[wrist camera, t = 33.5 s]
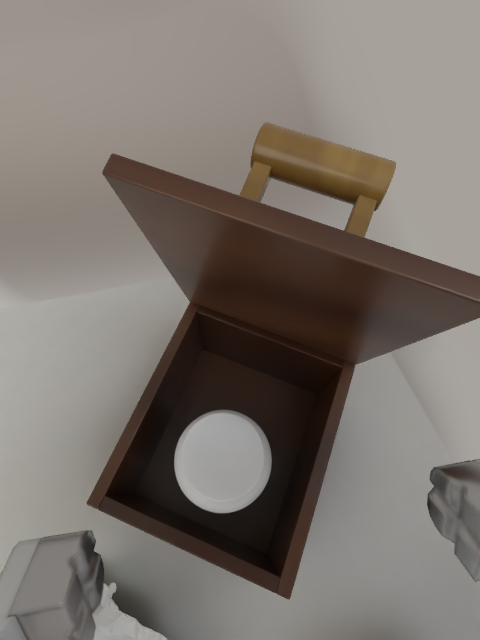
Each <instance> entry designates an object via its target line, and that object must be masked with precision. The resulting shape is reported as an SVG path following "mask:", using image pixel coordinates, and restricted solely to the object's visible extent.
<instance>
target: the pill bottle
mask: <svg viewBox="0 0 480 640" xmlns="http://www.w3.org/2000/svg"><path fill="white" fill-rule="evenodd" d="M271 464H272V457H271V450H270V446H269V443H268V440H267V438H266V436H265V434H264V432H263V431H262V429H261V428H260V427H259V426H258V425H257V424H256V423H255V422H254V421H253V420H252V419H250V418H249V417H247V416H246V415H244V414H241V413H239V412H236V411H232V410H216V411H211V412H208V413H206V414H203V415H201V416H200V417H198V418H197V419H195V420H194V421H193V422H191V423H190V424H189V425H188V427H187V428H186V429H185V430H184V432H183V433H182V435H181V437H180V439H179V441H178V443H177V446H176V450H175V457H174V469H175V474H176V478H177V481H178V484H179V486H180V488H181V490H182V491H183V493H184V494H185V495H186V497H187V498H188V499H189V500H190V501H191V502H193V503H194V504H195V505H197V506H199V507H200V508H202V509H204V510H207V511H210V512H214V513H230V512H235V511H238V510H240V509H243V508H244V507H246V506H248V505H249V504H251V503H252V502H253V501H254V500H255V499H257V497H258V496H259V495H260V494H261V493H262V491H263V489H264V488H265V486H266V484H267V482H268V479H269V476H270V472H271Z"/></svg>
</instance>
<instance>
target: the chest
mask: <svg viewBox="0 0 480 640" xmlns="http://www.w3.org/2000/svg"><path fill="white" fill-rule="evenodd" d="M355 365H356V364H354V363H351V362H348V361H346V360H343V359H340V358H338V357H335V356H332V355H330V354H327V353H325V352H322V351H319V350H317V349H314V348H311V347H309V346H306V345H304V344H301V343H298V342H296V341H293V340H290V339H288V338H285V337H282V336H280V335H277V334H275V333H272V332H269V331H267V330H264V329H261V328H259V327H256V326H254V325H251V324H248V323H246V322H243V321H240V320H238V319H235V318H232V317H230V316H227V315H225V314H222V313H219V312H217V311H214V310H211V309H209V308H206V307H204V306H201V305H198V304H196V303H193V302H190V304H189V306H188V307H187V309H186V311H185V313H184V315H183V317H182V319H181V321H180V323H179V325H178V327H177V329H176V331H175V333H174V335H173V337H172V338H171V340H170V342H169V344H168V346H167V348H166V350H165V352H164V354H163V356H162V358H161V360H160V362H159V364H158V366H157V368H156V369H155V371H154V373H153V375H152V377H151V379H150V381H149V383H148V385H147V387H146V389H145V391H144V393H143V395H142V397H141V399H140V401H139V402H138V404H137V406H136V408H135V410H134V412H133V414H132V416H131V418H130V420H129V422H128V424H127V426H126V428H125V430H124V432H123V433H122V435H121V437H120V439H119V441H118V443H117V445H116V447H115V449H114V451H113V453H112V455H111V457H110V459H109V461H108V463H107V464H106V466H105V468H104V470H103V472H102V474H101V476H100V478H99V480H98V482H97V484H96V486H95V488H94V490H93V492H92V494H91V495H90V497H89V499H88V501H87V505H89V506H91V507H93V508H96V509H98V510H100V511H102V512H104V513H106V514H108V515H110V516H112V517H114V518H117V519H119V520H121V521H123V522H125V523H127V524H129V525H131V526H134V527H136V528H138V529H140V530H142V531H144V532H146V533H148V534H151V535H153V536H155V537H157V538H159V539H161V540H163V541H165V542H168V543H170V544H172V545H174V546H176V547H178V548H180V549H182V550H185V551H187V552H189V553H191V554H193V555H195V556H197V557H199V558H202V559H204V560H206V561H208V562H210V563H212V564H214V565H216V566H219V567H221V568H223V569H225V570H227V571H229V572H231V573H233V574H236V575H238V576H240V577H242V578H244V579H246V580H248V581H250V582H253V583H255V584H257V585H259V586H261V587H263V588H265V589H267V590H270V591H272V592H274V593H276V594H278V595H280V596H282V597H284V598H286V599H290V597H291V593H292V590H293V586H294V582H295V579H296V575H297V572H298V568H299V565H300V561H301V557H302V554H303V550H304V547H305V543H306V540H307V536H308V533H309V529H310V525H311V522H312V518H313V515H314V511H315V508H316V504H317V500H318V497H319V493H320V490H321V486H322V483H323V479H324V475H325V472H326V468H327V465H328V461H329V458H330V454H331V450H332V447H333V443H334V440H335V436H336V433H337V429H338V425H339V422H340V418H341V415H342V411H343V408H344V404H345V401H346V397H347V393H348V390H349V386H350V383H351V379H352V376H353V372H354V368H355ZM216 410H232V411H236V412H239V413H241V414H244V415H246V416H247V417H249V418H250V419H252V420H253V421H254V422H255V423H256V424H257V425H258V426H259V427H260V428H261V429H262V431H263V432H264V434H265V436H266V438H267V440H268V443H269V446H270V450H271V457H272V464H271V472H270V476H269V479H268V482H267V484H266V486H265V488H264V489H263V491H262V493H261V494H260V495H259V496H258V497H257V499H255V500H254V501H253V502H252V503H251V504H249V505H248V506H246V507H244V508H243V509H240V510H238V511H235V512H230V513H214V512H210V511H207V510H204V509H202V508H200V507H199V506H197V505H195V504H194V503H193V502H191V501H190V500H189V499H188V498H187V497H186V495H185V494H184V493H183V491H182V490H181V488H180V486H179V484H178V481H177V478H176V474H175V469H174V457H175V450H176V446H177V443H178V441H179V439H180V437H181V435H182V433H183V432H184V430H185V429H186V428H187V427H188V425H189V424H190V423H191V422H193V421H194V420H195V419H197V418H198V417H200V416H201V415H203V414H206V413H208V412H211V411H216Z"/></svg>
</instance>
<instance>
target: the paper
mask: <svg viewBox="0 0 480 640" xmlns="http://www.w3.org/2000/svg"><path fill="white" fill-rule="evenodd" d="M114 592H116V584H115V583H112V582H111V584H110V586H107V585H106V584H105V583H104V589H103V595H102V600H101V604H100V605H99V606H98V608H97V609H96V610H95V612H94V613H93V614H92V616H93V619H94V622H95V624H96V629H95V634H94V639H93V640H168V639H167V638H166V637H164V636H163V635H162V634H160V633H158V632H154V631H153V630H151V629H149V628H147V627H144V626H142V625H141V624H140V623H139V622H138V621H137V619H136V618H134V617H131V616H129V615H127V614H125V613H122V612H121V611H119V609H118V606H117V605H116V604H115V603H114V601H113V600H112V599H111V597H112V594H113V593H114Z"/></svg>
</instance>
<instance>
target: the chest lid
mask: <svg viewBox="0 0 480 640" xmlns="http://www.w3.org/2000/svg"><path fill="white" fill-rule="evenodd" d="M395 168H396V162H394V161H392V160H388V159H385V158H382V157H378V156H375V155H372V154H368V153H365V152H362V151H359V150H356V149H352V148H349V147H346V146H343V145H339V144H336V143H333V142H330V141H326V140H323V139H320V138H317V137H313V136H310V135H307V134H303V133H300V132H297V131H294V130H290V129H287V128H284V127H280V126H277V125H274V124H271V123H268V122H267V123H264V124H263V125H262V127H261V128H260V130H259V132H258V135H257V137H256V140H255V143H254V147H253V151H252V156H251V170H250V173H249V175H248V177H247V179H246V182H245V184H244V186H243V189H242V191H241V193H240V195H239V196H238V195H235V194H232V193H229V192H226V191H223V190H221V189H217V188H215V187H212V186H208V185H206V184H202V183H199V182H196V181H193V180H191V179H188V178H184V177H182V176H179V175H176V174H173V173H170V172H167V171H164V170H161V169H158V168H155V167H152V166H149V165H146V164H143V163H140V162H137V161H134V160H131V159H128V158H125V157H122V156H119V155H116V154H111V156H110V158H109V160H108V162H107V164H106V165H105V167H104V169H103V175H104V176H105V178H106V179H107V181H108V182H109V184H110V185H111V187H112V188H113V189H114V191H115V193H116V194H117V196H118V197H119V199H120V200H121V201H122V203H123V204H124V206H125V207H126V209H127V210H128V212H129V213H130V215H131V216H132V217H133V219H134V220H135V222H136V223H137V225H138V226H139V228H140V229H141V231H142V232H143V234H144V235H145V237H146V238H147V240H148V241H149V243H150V244H151V245H152V247H153V248H154V250H155V251H156V253H157V254H158V256H159V257H160V259H161V260H162V262H163V263H164V265H165V266H166V267H167V269H168V270H169V272H170V273H171V275H172V276H173V278H174V279H175V281H176V282H177V284H178V285H179V287H180V288H181V290H182V291H183V292H184V294H185V295H186V297H187V298H188V300H189V301H190V302H193V303H196V304H198V305H201V306H204V307H206V308H209V309H211V310H214V311H217V312H219V313H222V314H225V315H227V316H230V317H232V318H235V319H238V320H240V321H243V322H246V323H248V324H251V325H254V326H256V327H259V328H261V329H264V330H267V331H269V332H272V333H275V334H277V335H280V336H282V337H285V338H288V339H290V340H293V341H296V342H298V343H301V344H304V345H306V346H309V347H311V348H314V349H317V350H319V351H322V352H325V353H327V354H330V355H332V356H335V357H338V358H340V359H343V360H346V361H348V362H351V363H354V364H359V363H362V362H365V361H367V360H370V359H373V358H375V357H378V356H380V355H383V354H386V353H388V352H391V351H393V350H396V349H399V348H401V347H404V346H407V345H409V344H412V343H415V342H417V341H420V340H423V339H425V338H428V337H430V336H433V335H436V334H438V333H441V332H443V331H446V330H449V329H451V328H454V327H457V326H459V325H462V324H465V323H467V322H470V321H473V320H475V319H478V318H480V276H477V275H474V274H471V273H467V272H465V271H462V270H459V269H456V268H452V267H450V266H447V265H444V264H441V263H438V262H435V261H432V260H429V259H426V258H423V257H420V256H417V255H414V254H411V253H408V252H405V251H402V250H399V249H396V248H393V247H390V246H387V245H384V244H381V243H378V242H375V241H372V240H369V239H366V238H364V237H365V234H366V232H367V229H368V226H369V223H370V220H371V217H372V215H373V212H374V211H376V210H377V209H378V207H379V206H380V204H381V202H382V200H383V198H384V196H385V194H386V192H387V189H388V187H389V185H390V182H391V179H392V177H393V174H394V171H395ZM271 178H273V179H276V180H279V181H282V182H285V183H288V184H291V185H294V186H297V187H300V188H303V189H306V190H310V191H313V192H316V193H319V194H322V195H325V196H328V197H331V198H334V199H337V200H340V201H343V202H346V203H349V204H352V205H354V206H353V208H352V211H351V214H350V217H349V219H348V222H347V225H346V228H345V230H344V231H343V230H340V229H337V228H334V227H331V226H328V225H325V224H321V223H319V222H316V221H312V220H310V219H307V218H304V217H301V216H298V215H295V214H292V213H289V212H286V211H283V210H280V209H277V208H274V207H271V206H268V205H265V204H262V203H260V202H261V200H262V198H263V195H264V193H265V190H266V188H267V186H268V183H269V181H270V179H271Z"/></svg>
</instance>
